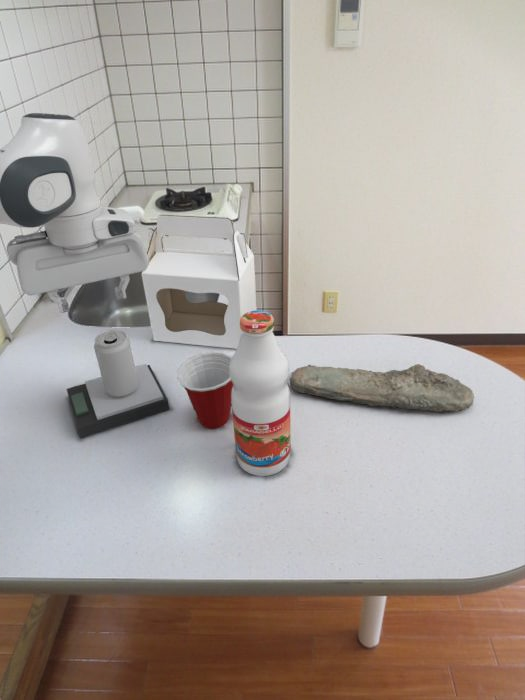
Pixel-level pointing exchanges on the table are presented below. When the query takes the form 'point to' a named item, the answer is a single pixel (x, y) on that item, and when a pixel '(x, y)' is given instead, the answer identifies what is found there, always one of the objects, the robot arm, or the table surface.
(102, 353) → the beverage can
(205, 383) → the plastic cup
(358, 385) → the long grey stone
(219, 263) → the gable box
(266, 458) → the fruit juice
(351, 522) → the table surface
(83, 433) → the kitchen scale
